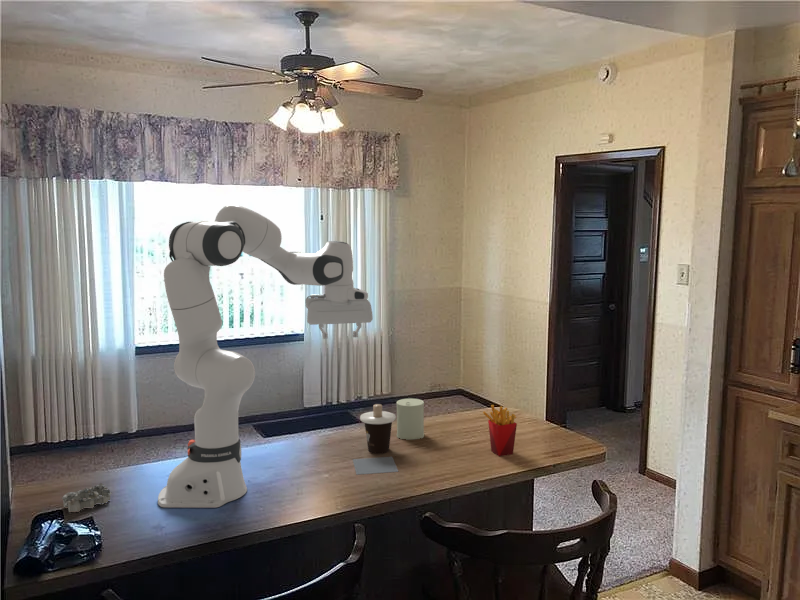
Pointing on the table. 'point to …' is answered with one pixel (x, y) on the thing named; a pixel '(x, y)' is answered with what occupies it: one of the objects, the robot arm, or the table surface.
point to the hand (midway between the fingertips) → (340, 337)
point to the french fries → (501, 431)
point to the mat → (374, 465)
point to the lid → (377, 416)
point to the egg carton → (92, 497)
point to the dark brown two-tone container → (378, 437)
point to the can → (410, 419)
